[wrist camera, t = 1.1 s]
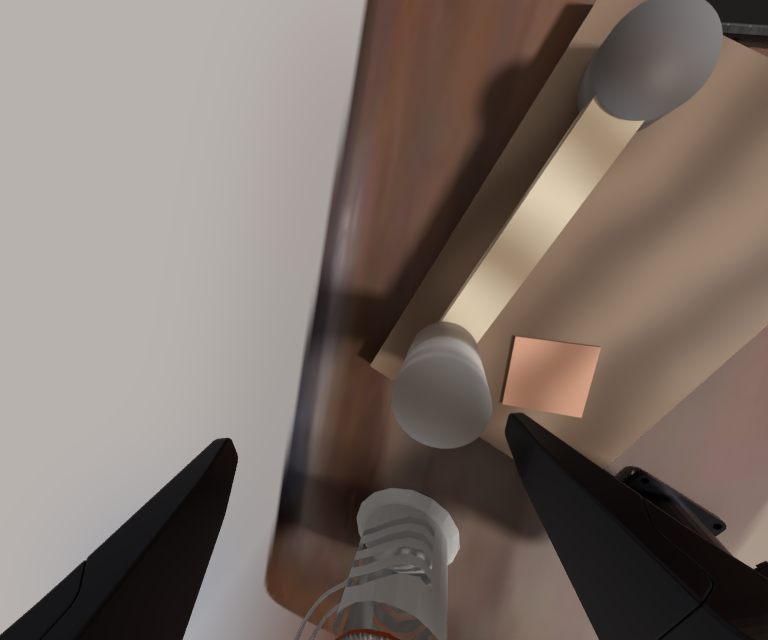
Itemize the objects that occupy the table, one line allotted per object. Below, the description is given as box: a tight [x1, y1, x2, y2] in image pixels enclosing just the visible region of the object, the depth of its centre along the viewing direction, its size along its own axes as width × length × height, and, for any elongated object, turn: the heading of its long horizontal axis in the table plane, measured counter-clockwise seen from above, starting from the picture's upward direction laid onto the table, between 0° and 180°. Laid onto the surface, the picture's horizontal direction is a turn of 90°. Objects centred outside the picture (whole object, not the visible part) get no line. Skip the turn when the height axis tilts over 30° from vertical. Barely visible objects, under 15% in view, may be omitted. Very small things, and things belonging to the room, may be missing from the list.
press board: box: [370, 0, 768, 469], centre depth 18 cm, size 18×25×2 cm
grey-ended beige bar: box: [391, 0, 723, 449], centre depth 13 cm, size 20×4×8 cm, turn 150°
